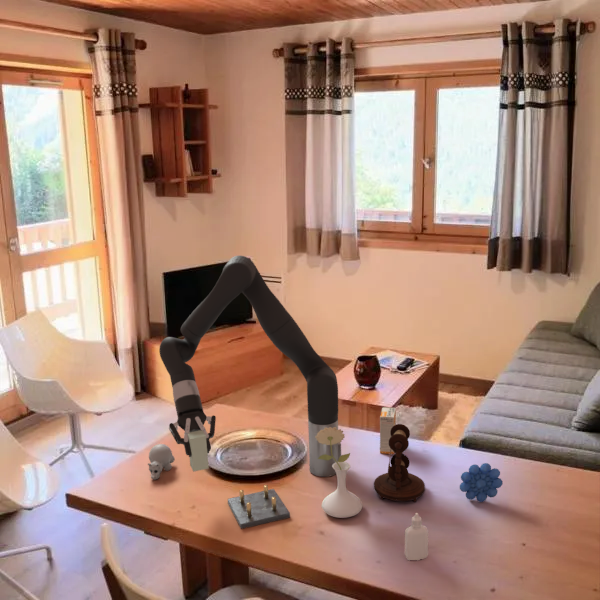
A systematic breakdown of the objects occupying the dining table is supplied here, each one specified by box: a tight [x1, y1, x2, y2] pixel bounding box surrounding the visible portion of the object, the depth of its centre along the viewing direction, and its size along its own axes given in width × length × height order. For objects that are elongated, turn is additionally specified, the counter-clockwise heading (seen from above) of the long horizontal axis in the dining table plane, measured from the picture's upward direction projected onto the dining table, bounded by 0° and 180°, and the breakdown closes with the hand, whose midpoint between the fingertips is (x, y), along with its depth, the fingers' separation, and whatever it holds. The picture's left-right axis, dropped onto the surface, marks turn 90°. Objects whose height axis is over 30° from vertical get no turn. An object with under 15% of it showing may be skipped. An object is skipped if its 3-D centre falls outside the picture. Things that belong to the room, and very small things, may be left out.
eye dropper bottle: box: [404, 512, 429, 561], centre depth 167 cm, size 4×6×12 cm
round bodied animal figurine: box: [147, 443, 175, 481], centre depth 214 cm, size 7×12×8 cm, turn 167°
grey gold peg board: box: [227, 484, 291, 530], centre depth 191 cm, size 14×14×5 cm
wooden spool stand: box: [373, 423, 426, 503], centre depth 197 cm, size 15×15×20 cm
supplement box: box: [379, 407, 397, 455], centre depth 224 cm, size 8×5×13 cm, turn 168°
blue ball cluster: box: [459, 462, 503, 503], centre depth 192 cm, size 12×7×12 cm, turn 73°
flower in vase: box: [315, 427, 363, 519], centre depth 188 cm, size 13×11×25 cm
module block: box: [188, 430, 210, 472], centre depth 192 cm, size 4×4×10 cm
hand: (199, 453), depth 191 cm, fingers closed on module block, 4 cm apart
